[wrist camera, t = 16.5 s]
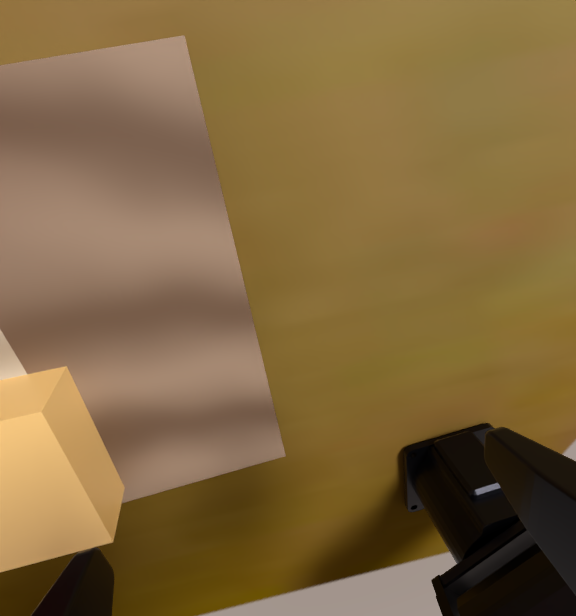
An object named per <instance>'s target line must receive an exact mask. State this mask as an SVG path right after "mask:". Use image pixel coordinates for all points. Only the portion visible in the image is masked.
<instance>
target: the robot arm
mask: <svg viewBox="0 0 576 616" xmlns="http://www.w3.org/2000/svg"><path fill="white" fill-rule="evenodd" d="M404 482H405V505H406V507H407V509H408V511H409V512H415V511H418V510H421V509H425V510H426V511H427V513H428V515H429V517H430V518H431V520H432V522H433V523H434V525H435V527H436V529H437V530H438V532H439V534H440V535H441V537H442V539H443V541H444V542H445V544H446V546H447V548H448V549H449V551H450V553H451V554H452V556H453V558H454V560H455V561H456V563H457V564H456V565H455V566H454V567H452V568H451V569H449V570H448V571H447V572H445V573H444V574H442V575H441V576H440V575H438V576H436V577H435V578H434V579H432V584H433V587H434V590H435V592H436V599H437V601H438V604H439V607H440V610H441V612H442V615H443V616H576V461H574V460H572V459H570V458H568V457H566V456H564V455H562V454H560V453H558V452H555V451H553V450H551V449H549V448H547V447H545V446H543V445H541V444H539V443H537V442H535V441H533V440H531V439H529V438H526V437H524V436H522V435H520V434H518V433H516V432H514V431H512V430H510V429H508V428H505V427H499V428H495V429H494V428H493V427H492V426H491V425H490V424H489V423H485V424H482V425H478V426H475V427H472V428H468V429H465V430H461V431H458V432H455V433H451V434H448V435H445V436H441V437H438V438H434V439H431V440H428V441H424V442H421V443H417V444H414V445H411V446H408V447H407V448H406V449H405V450H404ZM113 589H114V573H113V569H112V567H111V566H110V564H109V563H108V561H107V560H106V558H105V557H104V555H103V554H102V552H101V551H100V549H98V548H96V547H94V548H90V549H87V550H84V551H81V552H78V553H77V554H76V555H75V556H74V557H73V558H72V559H71V561H70V562H69V563H68V565H67V566H66V568H65V569H64V570H63V572H62V573H61V574H60V576H59V577H58V579H57V580H56V581H55V583H54V584H53V585H52V587H51V588H50V590H49V591H48V592H47V594H46V595H45V597H44V598H43V599H42V601H41V602H40V603H39V605H38V606H37V608H36V609H35V610H34V612H33V613H32V615H31V616H112V603H113Z"/></svg>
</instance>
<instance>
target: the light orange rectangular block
mask: <svg viewBox="0 0 576 616" xmlns="http://www.w3.org/2000/svg"><path fill="white" fill-rule="evenodd" d="M124 489H125V487H124V485H123V483H122V481H121V479H120V477H119V475H118V473H117V471H116V468H115V466H114V464H113V462H112V460H111V458H110V456H109V454H108V452H107V450H106V447H105V445H104V443H103V441H102V439H101V437H100V435H99V433H98V431H97V429H96V427H95V424H94V422H93V420H92V418H91V416H90V414H89V412H88V410H87V408H86V406H85V403H84V401H83V399H82V397H81V395H80V393H79V391H78V389H77V387H76V385H75V383H74V380H73V378H72V376H71V374H70V372H69V370H68V368H67V366H65V367H60V368H56V369H51V370H46V371H41V372H37V373H32V374H27V375H22V376H18V377H13V378H8V379H3V380H0V572H4V571H8V570H11V569H15V568H19V567H23V566H26V565H30V564H34V563H37V562H41V561H45V560H49V559H52V558H56V557H60V556H63V555H67V554H71V553H75V552H78V551H82V550H86V549H90V548H93V547H97V546H101V545H104V544H108V543H112V542H113V541H114V537H115V532H116V527H117V522H118V517H119V513H120V508H121V503H122V498H123V493H124Z"/></svg>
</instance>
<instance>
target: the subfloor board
mask: <svg viewBox="0 0 576 616" xmlns="http://www.w3.org/2000/svg"><path fill="white" fill-rule="evenodd" d="M65 366H67V368H68V370H69V372H70V374H71V376H72V378H73V380H74V383H75V385H76V387H77V389H78V391H79V393H80V395H81V397H82V399H83V401H84V403H85V406H86V408H87V410H88V412H89V414H90V416H91V418H92V420H93V422H94V424H95V427H96V429H97V431H98V433H99V435H100V437H101V439H102V441H103V443H104V445H105V447H106V450H107V452H108V454H109V456H110V458H111V460H112V462H113V464H114V466H115V468H116V471H117V473H118V475H119V477H120V479H121V481H122V483H123V485H124V487H125V489H124V493H123V498H122V503H124V502H128V501H131V500H135V499H138V498H142V497H145V496H149V495H152V494H156V493H159V492H163V491H166V490H170V489H173V488H177V487H180V486H183V485H187V484H190V483H194V482H197V481H201V480H204V479H208V478H211V477H215V476H218V475H222V474H225V473H229V472H232V471H236V470H239V469H242V468H246V467H249V466H253V465H256V464H260V463H263V462H267V461H270V460H274V459H277V458H281V457H284V456H286V455H285V451H284V447H283V443H282V439H281V435H280V430H279V426H278V422H277V418H276V414H275V410H274V406H273V401H272V397H271V393H270V389H269V385H268V381H267V376H266V372H265V368H264V364H263V360H262V356H261V352H260V347H259V343H258V339H257V335H256V331H255V327H254V323H253V318H252V314H251V310H250V306H249V302H248V298H247V293H246V289H245V285H244V281H243V277H242V273H241V269H240V264H239V260H238V256H237V252H236V248H235V244H234V240H233V235H232V231H231V227H230V223H229V219H228V215H227V210H226V206H225V202H224V198H223V194H222V190H221V186H220V181H219V177H218V173H217V169H216V165H215V161H214V157H213V152H212V148H211V144H210V140H209V136H208V132H207V127H206V123H205V119H204V115H203V111H202V107H201V103H200V98H199V94H198V90H197V86H196V82H195V78H194V73H193V69H192V65H191V61H190V57H189V53H188V49H187V44H186V40H185V36H178V37H172V38H166V39H159V40H153V41H147V42H141V43H135V44H129V45H123V46H116V47H110V48H104V49H98V50H92V51H86V52H80V53H74V54H67V55H61V56H55V57H49V58H43V59H37V60H31V61H24V62H18V63H12V64H6V65H0V380H3V379H8V378H13V377H18V376H22V375H27V374H32V373H37V372H41V371H46V370H51V369H56V368H60V367H65Z"/></svg>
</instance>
